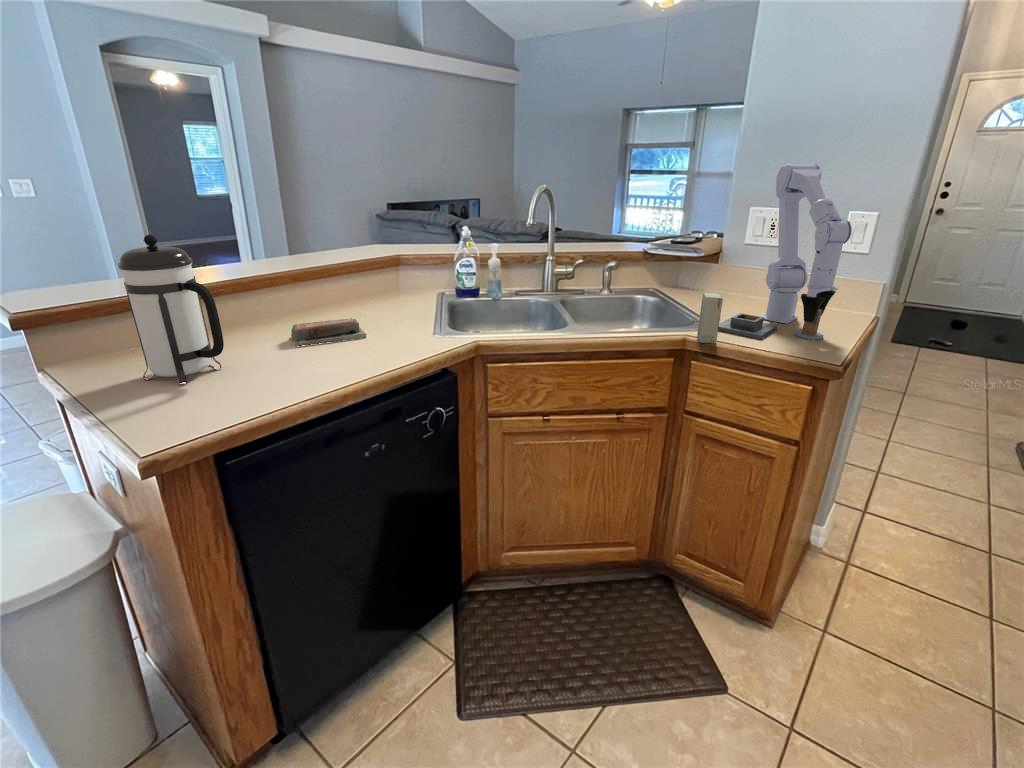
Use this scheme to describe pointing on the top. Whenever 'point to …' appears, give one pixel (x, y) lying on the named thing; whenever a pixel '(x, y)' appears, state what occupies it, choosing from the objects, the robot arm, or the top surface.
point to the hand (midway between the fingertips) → (812, 318)
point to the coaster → (800, 335)
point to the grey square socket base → (747, 326)
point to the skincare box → (709, 317)
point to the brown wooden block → (812, 325)
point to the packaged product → (326, 331)
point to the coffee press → (170, 310)
